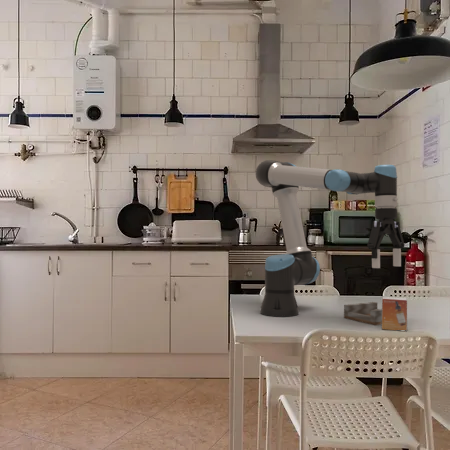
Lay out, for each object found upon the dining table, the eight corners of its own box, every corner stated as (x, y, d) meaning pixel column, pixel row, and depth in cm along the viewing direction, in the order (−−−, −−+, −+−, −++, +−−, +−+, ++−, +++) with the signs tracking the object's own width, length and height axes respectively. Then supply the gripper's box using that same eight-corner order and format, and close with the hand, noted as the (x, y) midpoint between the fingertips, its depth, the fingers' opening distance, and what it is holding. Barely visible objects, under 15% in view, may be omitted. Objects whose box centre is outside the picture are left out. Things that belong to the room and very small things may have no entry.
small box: (381, 329, 152) (381, 298, 152) (382, 326, 157) (382, 296, 157) (407, 331, 149) (407, 299, 149) (406, 328, 154) (406, 297, 154)
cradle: (374, 325, 159) (374, 311, 159) (344, 318, 172) (344, 304, 172) (405, 320, 167) (405, 307, 167) (373, 314, 180) (373, 301, 180)
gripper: (375, 206, 151) (376, 269, 151) (413, 208, 167) (414, 266, 166) (356, 207, 157) (357, 268, 157) (395, 209, 173) (396, 265, 172)
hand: (386, 267), depth 162 cm, fingers open, 13 cm apart
